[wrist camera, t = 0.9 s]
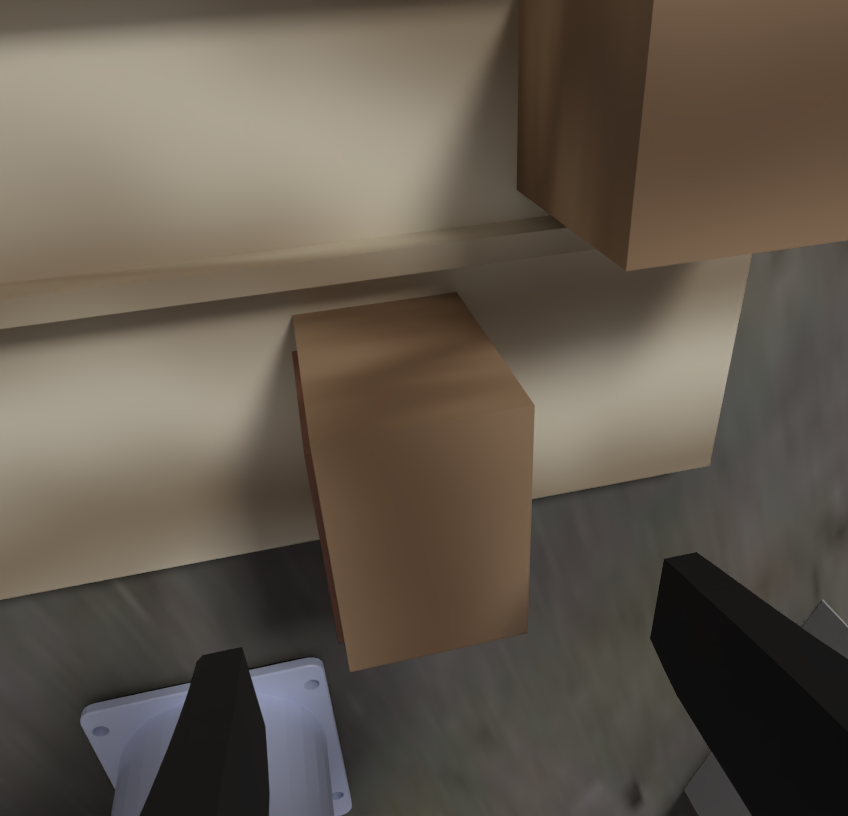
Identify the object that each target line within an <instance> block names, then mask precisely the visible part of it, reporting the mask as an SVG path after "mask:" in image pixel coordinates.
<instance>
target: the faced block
mask: <svg viewBox="0 0 848 816" xmlns="http://www.w3.org/2000/svg"><path fill="white" fill-rule="evenodd" d="M517 190H518V191H519V192H520V193H522V194H523V195H524V196H526V197H527V198H528V199H530V200H531V201H532V202H534V203H535V204H536V205H538V206H539V207H541V208H542V209H543V210H545V211H546V212H547V213H549V214H550V215H551V216H553V217H554V218H555V219H557V220H558V221H559V222H561V223H562V224H563V225H565V226H566V227H567V228H569V229H570V230H571V231H573V232H574V233H575V234H577V235H578V236H579V237H581V238H582V239H583V240H585V241H586V242H587V243H589V244H590V245H591V246H593V247H594V248H596V249H597V250H598V251H600V252H601V253H602V254H604V255H605V256H606V257H608V258H609V259H610V260H612V261H613V262H614V263H616V264H617V265H618V266H620V267H621V268H622V269H624V270H625V271H631V270H639V269H646V268H653V267H660V266H667V265H674V264H682V263H689V262H696V261H703V260H710V259H717V258H724V257H732V256H739V255H746V254H753V253H760V252H767V251H775V250H782V249H789V248H796V247H803V246H810V245H817V244H825V243H832V242H839V241H846V240H848V0H519V57H518V131H517Z"/></svg>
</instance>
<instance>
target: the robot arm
mask: <svg viewBox="0 0 848 816" xmlns="http://www.w3.org/2000/svg"><path fill="white" fill-rule="evenodd" d="M650 639H651V641H652V643H653V646H654V648H655V650H656V652H657V655H658V657H659V659H660V661H661V663H662V666H663V668H664V670H665V672H666V674H667V676H668V678H669V680H670V682H671V684H672V686H673V688H674V690H675V692H676V695H677V696H678V698H679V699H680V701H681V703H682V704H683V706H684V708H685V709H686V711H687V713H688V714H689V716H690V718H691V719H692V721H693V722H694V724H695V726H696V727H697V729H698V731H699V732H700V734H701V735H702V737H703V739H704V740H705V742H706V743H707V745H708V747H709V748H710V750H711V751H712V753H713V755H714V756H715V758H716V759H717V761H718V763H719V764H720V766H721V767H722V769H723V771H724V772H725V774H726V775H727V777H728V779H729V780H730V782H731V783H732V785H733V787H734V788H735V790H736V791H737V793H738V795H739V796H740V798H741V799H742V801H743V803H744V804H745V806H746V807H747V809H748V811H749V812H750V814H751V815H752V816H848V659H847V658H846V657H844V656H843V655H841V654H840V653H838V652H837V651H835V650H834V649H832V648H831V647H829V646H828V645H826V644H825V643H823V642H822V641H820V640H819V639H817V638H816V637H814V636H813V635H811V634H810V633H809V632H807V631H806V630H804V629H803V628H801V627H800V626H798V625H797V624H796V623H794V622H793V621H791V620H790V619H788V618H787V617H786V616H784V615H783V614H781V613H780V612H779V611H777V610H776V609H774V608H773V607H772V606H770V605H769V604H767V603H766V602H765V601H763V600H762V599H760V598H759V597H758V596H756V595H755V594H754V593H752V592H751V591H749V590H748V589H747V588H745V587H744V586H743V585H741V584H740V583H738V582H737V581H736V580H734V579H733V578H732V577H730V576H729V575H727V574H726V573H725V572H723V571H722V570H721V569H719V568H718V567H716V566H715V565H714V564H712V563H711V562H710V561H708V560H707V559H705V558H704V557H702V556H701V555H700V554H698V553H697V552H695V553H691V554H686V555H681V556H676V557H671V558H667V559H664V563H663V568H662V574H661V580H660V585H659V591H658V597H657V603H656V608H655V614H654V620H653V626H652V631H651V637H650ZM80 725H81V726H82V728H83V730H84V732H85V734H86V736H87V738H88V740H89V742H90V743H91V745H92V747H93V749H94V751H95V753H96V755H97V757H98V759H99V760H100V762H101V764H102V766H103V768H104V770H105V772H106V774H107V776H108V777H109V779H110V781H111V783H112V785H113V787H114V789H115V795H114V801H113V807H112V813H111V816H340V815H343V814H346V813H347V812H349V811H350V809H351V808H352V801H351V795H350V790H349V785H348V781H347V776H346V771H345V766H344V761H343V756H342V752H341V747H340V742H339V737H338V732H337V727H336V722H335V718H334V713H333V708H332V703H331V698H330V693H329V689H328V684H327V679H326V674H325V669H324V664H323V662H322V661H321V660H320V659H318V658H314V657H308V658H303V659H298V660H294V661H289V662H284V663H280V664H275V665H270V666H266V667H261V668H256V669H252V670H249V669H248V665H247V662H246V659H245V655H244V652H243V649H242V647H240V648H235V649H230V650H226V651H221V652H216V653H211V654H207V655H203V656H202V657H201V658H200V659H199V660H198V661H197V663H196V667H195V670H194V674H193V677H192V680H191V683H186V684H182V685H177V686H172V687H168V688H163V689H158V690H154V691H149V692H144V693H140V694H135V695H130V696H126V697H121V698H116V699H112V700H107V701H102V702H98V703H94V704H91V705H88V706H87V707H85V708H84V709H83V711H82V713H81V718H80Z"/></svg>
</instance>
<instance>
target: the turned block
mask: <svg viewBox="0 0 848 816" xmlns="http://www.w3.org/2000/svg"><path fill="white" fill-rule="evenodd" d="M292 316H293V323H294V331H295V338H296V346H297V351H292V358H293V366H294V374H295V383H296V391H297V400H298V408H299V417H300V425H301V433H302V442H303V450H304V457H305V463H306V468H307V474H308V479H309V485H310V490H311V495H312V501H313V506H314V512H315V517H316V523H317V528H318V534H319V539H320V544H321V550H322V555H323V561H324V566H325V572H326V577H327V582H328V588H329V593H330V599H331V604H332V610H333V615H334V620H335V626H336V631H337V637H338V642H339V643H343V642H345V646H346V652H347V658H348V663H349V669H350V672H353V671H358V670H362V669H367V668H372V667H376V666H381V665H385V664H390V663H394V662H399V661H403V660H408V659H413V658H417V657H422V656H426V655H431V654H435V653H440V652H444V651H449V650H453V649H458V648H463V647H467V646H472V645H476V644H481V643H485V642H490V641H494V640H499V639H504V638H508V637H513V636H517V635H522V634H526V633H527V631H528V600H529V569H530V539H531V508H532V477H533V446H534V415H535V405H534V404H533V402H532V401H531V399H530V398H529V396H528V395H527V393H526V392H525V390H524V389H523V388H522V386H521V385H520V383H519V382H518V380H517V379H516V377H515V376H514V375H513V373H512V372H511V370H510V369H509V367H508V366H507V364H506V363H505V361H504V360H503V359H502V357H501V356H500V354H499V353H498V351H497V350H496V348H495V347H494V345H493V344H492V343H491V341H490V340H489V338H488V337H487V335H486V334H485V332H484V331H483V329H482V328H481V327H480V325H479V324H478V322H477V321H476V319H475V318H474V316H473V315H472V314H471V312H470V311H469V309H468V308H467V306H466V305H465V303H464V302H463V300H462V299H461V298H460V296H459V295H458V293H457V292H454V293H447V294H440V295H433V296H425V297H418V298H411V299H404V300H397V301H390V302H382V303H375V304H368V305H361V306H354V307H346V308H339V309H332V310H325V311H318V312H310V313H303V314H296V315H292Z"/></svg>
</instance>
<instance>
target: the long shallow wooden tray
mask: <svg viewBox="0 0 848 816" xmlns="http://www.w3.org/2000/svg"><path fill="white" fill-rule="evenodd" d="M518 57H519V0H0V600H2V599H7V598H12V597H18V596H23V595H28V594H33V593H39V592H44V591H49V590H55V589H60V588H65V587H70V586H76V585H81V584H86V583H92V582H97V581H102V580H107V579H113V578H118V577H123V576H129V575H134V574H139V573H144V572H150V571H155V570H160V569H166V568H171V567H176V566H181V565H187V564H192V563H197V562H203V561H208V560H213V559H218V558H224V557H229V556H234V555H240V554H245V553H250V552H255V551H261V550H266V549H271V548H277V547H282V546H287V545H292V544H298V543H303V542H308V541H314V540H319V534H318V528H317V523H316V517H315V512H314V506H313V501H312V495H311V490H310V485H309V479H308V474H307V468H306V463H305V457H304V450H303V442H302V433H301V425H300V417H299V408H298V400H297V391H296V383H295V374H294V366H293V358H292V351H297V346H296V338H295V331H294V323H293V316H292V315H296V314H303V313H310V312H318V311H325V310H332V309H339V308H346V307H354V306H361V305H368V304H375V303H382V302H390V301H397V300H404V299H411V298H418V297H425V296H433V295H440V294H447V293H454V292H457V293H458V295H459V296H460V298H461V299H462V300H463V302H464V303H465V305H466V306H467V308H468V309H469V311H470V312H471V314H472V315H473V316H474V318H475V319H476V321H477V322H478V324H479V325H480V327H481V328H482V329H483V331H484V332H485V334H486V335H487V337H488V338H489V340H490V341H491V343H492V344H493V345H494V347H495V348H496V350H497V351H498V353H499V354H500V356H501V357H502V359H503V360H504V361H505V363H506V364H507V366H508V367H509V369H510V370H511V372H512V373H513V375H514V376H515V377H516V379H517V380H518V382H519V383H520V385H521V386H522V388H523V389H524V390H525V392H526V393H527V395H528V396H529V398H530V399H531V401H532V402H533V404H534V405H535V415H534V446H533V477H532V499H536V498H541V497H546V496H551V495H557V494H562V493H567V492H573V491H578V490H583V489H588V488H594V487H599V486H604V485H610V484H615V483H620V482H625V481H631V480H636V479H641V478H647V477H652V476H657V475H662V474H668V473H673V472H678V471H684V470H689V469H694V468H699V467H705V466H709V465H710V460H711V455H712V451H713V446H714V441H715V436H716V431H717V426H718V421H719V416H720V411H721V406H722V401H723V396H724V391H725V386H726V381H727V376H728V371H729V366H730V361H731V356H732V351H733V346H734V341H735V336H736V331H737V326H738V321H739V316H740V311H741V306H742V301H743V296H744V291H745V286H746V281H747V276H748V271H749V266H750V261H751V256H752V254H746V255H739V256H732V257H724V258H717V259H710V260H703V261H696V262H689V263H682V264H674V265H667V266H660V267H653V268H646V269H639V270H631V271H625V270H624V269H622V268H621V267H620V266H618V265H617V264H616V263H614V262H613V261H612V260H610V259H609V258H608V257H606V256H605V255H604V254H602V253H601V252H600V251H598V250H597V249H596V248H594V247H593V246H591V245H590V244H589V243H587V242H586V241H585V240H583V239H582V238H581V237H579V236H578V235H577V234H575V233H574V232H573V231H571V230H570V229H569V228H567V227H566V226H565V225H563V224H562V223H561V222H559V221H558V220H557V219H555V218H554V217H553V216H551V215H550V214H549V213H547V212H546V211H545V210H543V209H542V208H541V207H539V206H538V205H536V204H535V203H534V202H532V201H531V200H530V199H528V198H527V197H526V196H524V195H523V194H522V193H520V192H519V191H518V190H517V131H518Z"/></svg>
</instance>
